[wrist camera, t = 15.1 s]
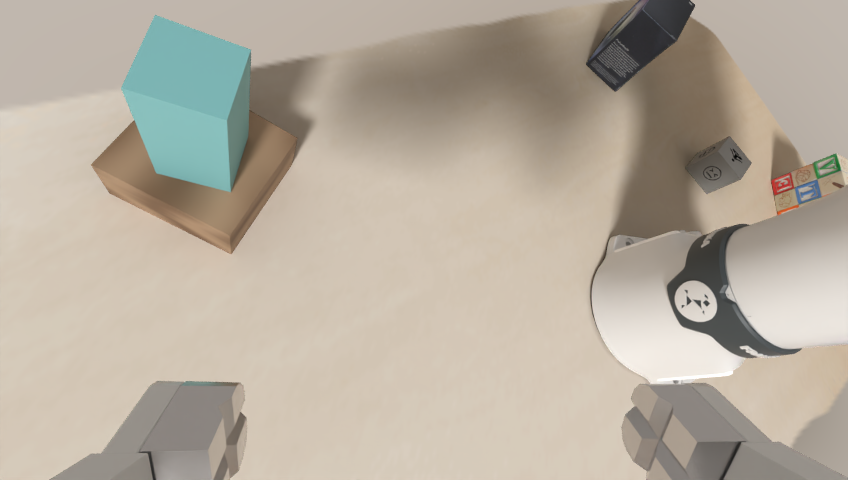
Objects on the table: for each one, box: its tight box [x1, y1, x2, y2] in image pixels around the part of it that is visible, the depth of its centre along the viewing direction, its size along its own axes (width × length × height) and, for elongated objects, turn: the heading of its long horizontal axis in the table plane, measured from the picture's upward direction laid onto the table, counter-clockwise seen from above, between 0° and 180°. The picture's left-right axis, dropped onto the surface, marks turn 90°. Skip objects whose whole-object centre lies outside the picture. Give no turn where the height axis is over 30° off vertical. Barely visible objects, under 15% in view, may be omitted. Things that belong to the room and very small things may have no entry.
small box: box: [586, 0, 695, 91], centre depth 60 cm, size 11×6×10 cm, turn 145°
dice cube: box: [686, 136, 751, 194], centre depth 62 cm, size 5×5×5 cm
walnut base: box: [91, 110, 298, 254], centre depth 34 cm, size 10×10×5 cm
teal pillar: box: [121, 15, 251, 192], centre depth 27 cm, size 5×5×10 cm
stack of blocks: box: [771, 154, 848, 215], centre depth 62 cm, size 21×6×12 cm, turn 170°
